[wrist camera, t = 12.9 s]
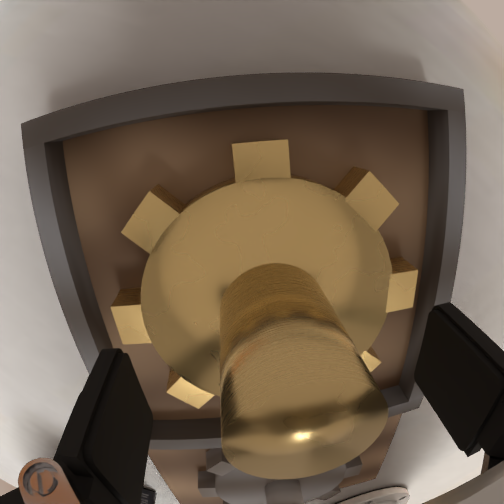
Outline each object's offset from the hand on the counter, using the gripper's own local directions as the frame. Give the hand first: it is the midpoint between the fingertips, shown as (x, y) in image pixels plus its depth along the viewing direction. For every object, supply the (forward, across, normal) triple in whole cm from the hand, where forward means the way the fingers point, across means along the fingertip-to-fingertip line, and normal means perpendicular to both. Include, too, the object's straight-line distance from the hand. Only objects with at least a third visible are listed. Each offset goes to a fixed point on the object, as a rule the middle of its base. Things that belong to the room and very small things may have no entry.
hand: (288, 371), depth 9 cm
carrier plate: (+6, 0, +6) cm, 8 cm away
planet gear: (+5, 0, 0) cm, 5 cm away
